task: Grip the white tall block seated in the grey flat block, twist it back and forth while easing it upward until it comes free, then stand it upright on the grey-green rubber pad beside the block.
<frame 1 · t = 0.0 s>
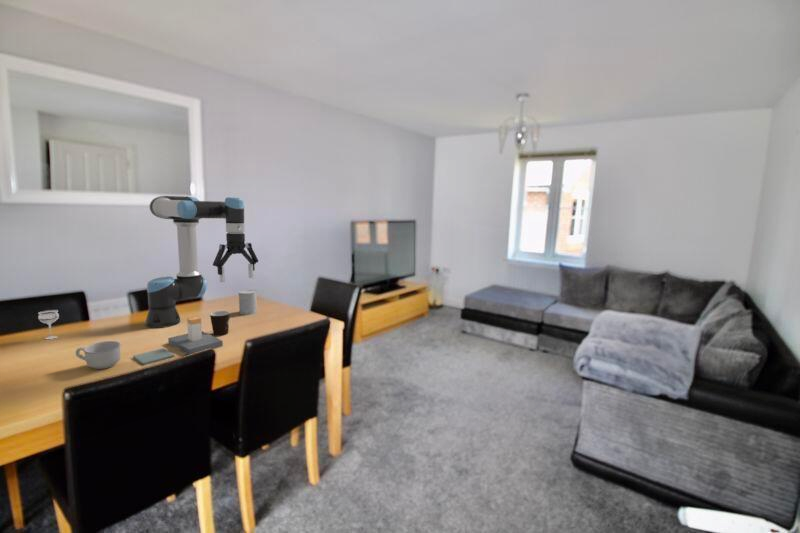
hand: (237, 279, 170), 28 cm above the table, tool pointing down, fingers open, 13 cm apart
grey flat block: (195, 344, 166), on the table
white tall block: (194, 331, 165), in the grey flat block
grey canister: (248, 312, 218), on the table
pad: (154, 357, 152), on the table
coffee mug: (222, 332, 183), on the table
wineglass: (51, 338, 169), on the table
teacup: (100, 366, 142), on the table
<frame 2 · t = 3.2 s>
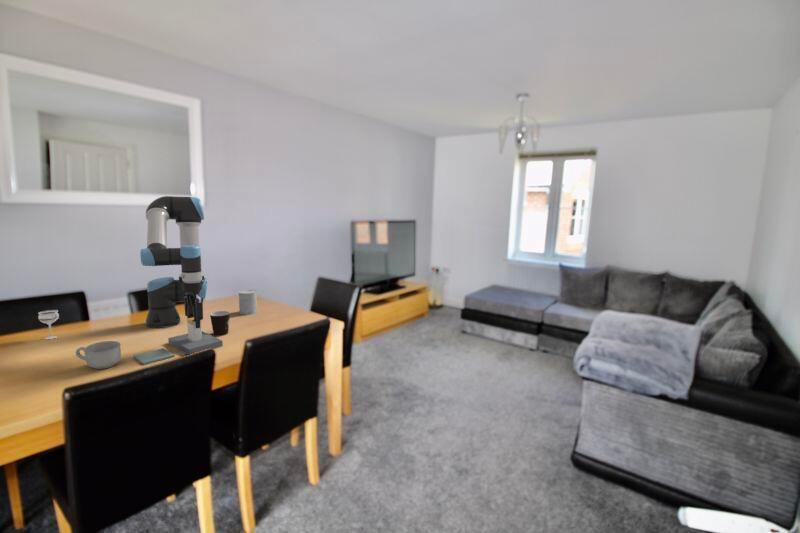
hand: (194, 333, 165), 5 cm above the table, tool pointing down, fingers closed on white tall block, 4 cm apart
white tall block: (194, 331, 165), in the grey flat block, touching gripper
everything else where it was.
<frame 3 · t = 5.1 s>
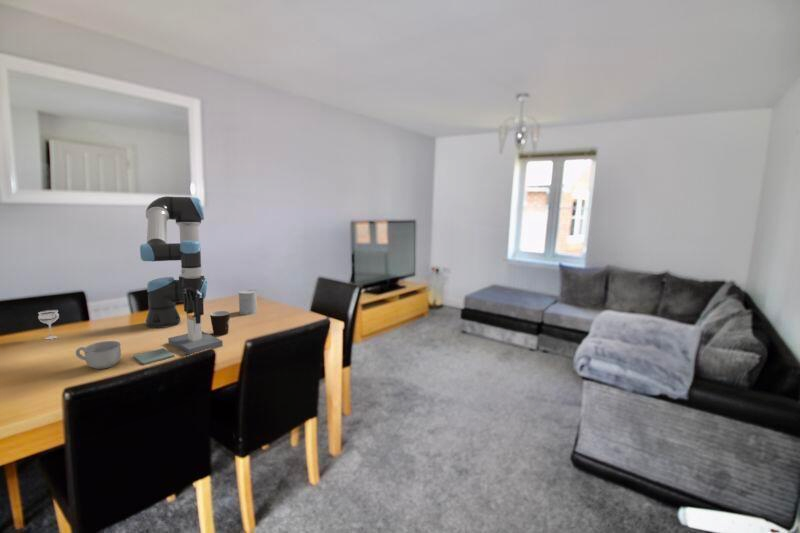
hand: (194, 329, 165), 7 cm above the table, tool pointing down, fingers closed on white tall block, 4 cm apart
white tall block: (194, 327, 165), point 8 cm above the table, touching gripper
everything else where it was.
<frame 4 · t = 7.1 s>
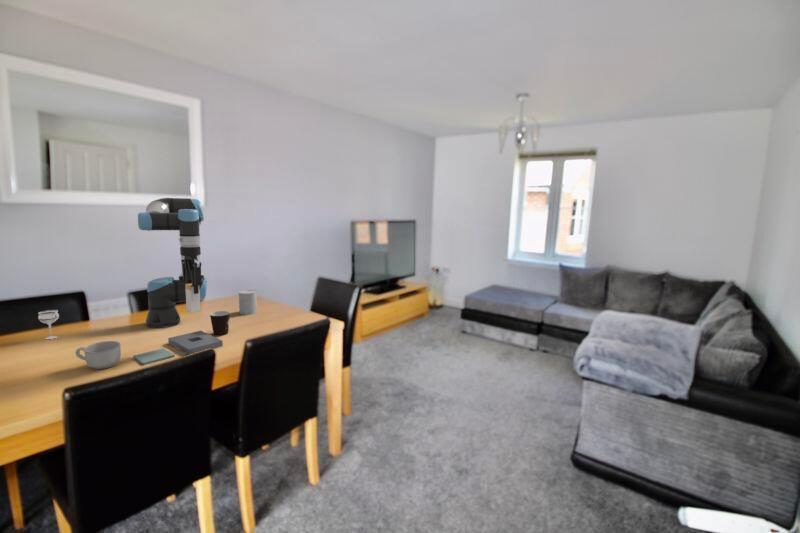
hand: (193, 299, 163), 20 cm above the table, tool pointing down, fingers closed on white tall block, 4 cm apart
white tall block: (192, 297, 163), point 21 cm above the table, touching gripper
everything else where it was.
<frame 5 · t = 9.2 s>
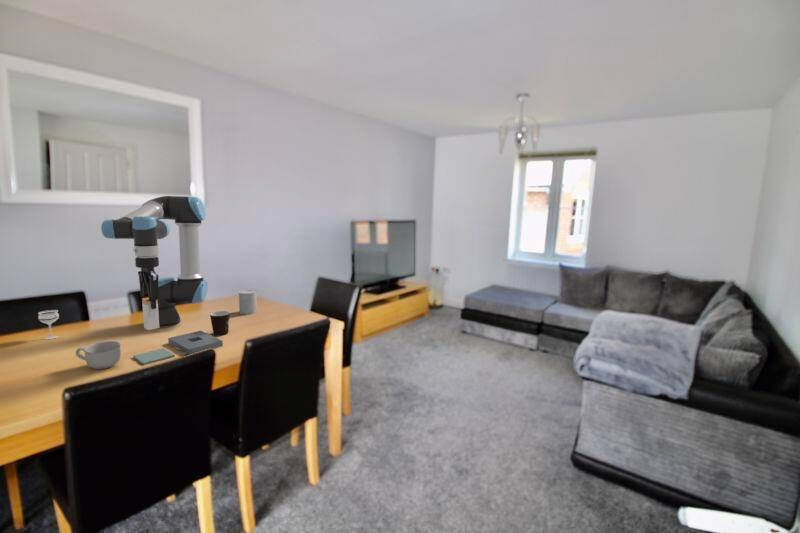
hand: (150, 315, 149), 17 cm above the table, tool pointing down, fingers closed on white tall block, 4 cm apart
white tall block: (150, 313, 149), point 18 cm above the table, touching gripper
everything else where it was.
when the fingers open (7 cm above the table, at t = 11.1 s): white tall block drops 1 cm, resting on pad.
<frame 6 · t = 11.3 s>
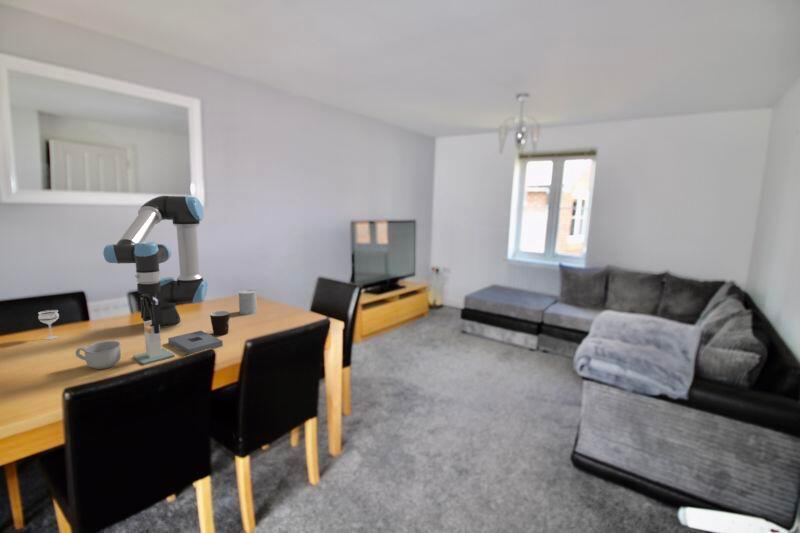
hand: (152, 338, 150), 8 cm above the table, tool pointing down, fingers open, 7 cm apart
white tall block: (152, 340, 150), on the pad, point 7 cm above the table
everything else where it was.
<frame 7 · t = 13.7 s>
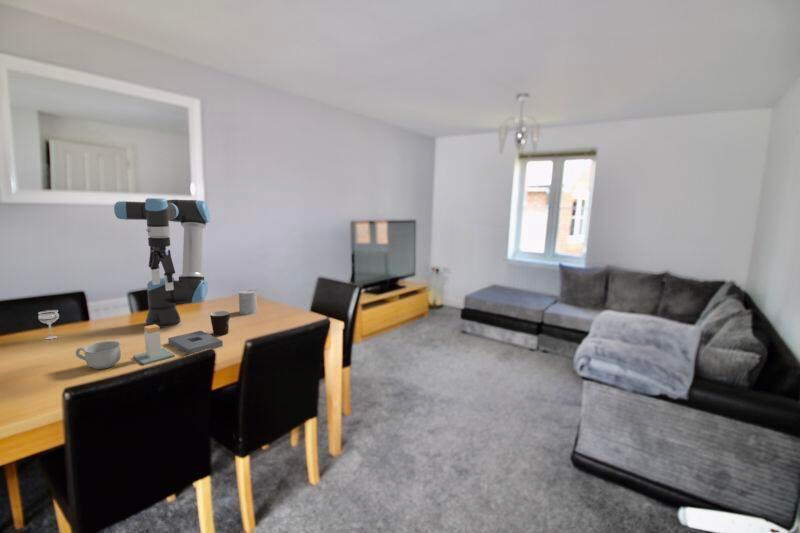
hand: (162, 287, 158), 26 cm above the table, tool pointing down, fingers open, 13 cm apart
nothing on the table moved.
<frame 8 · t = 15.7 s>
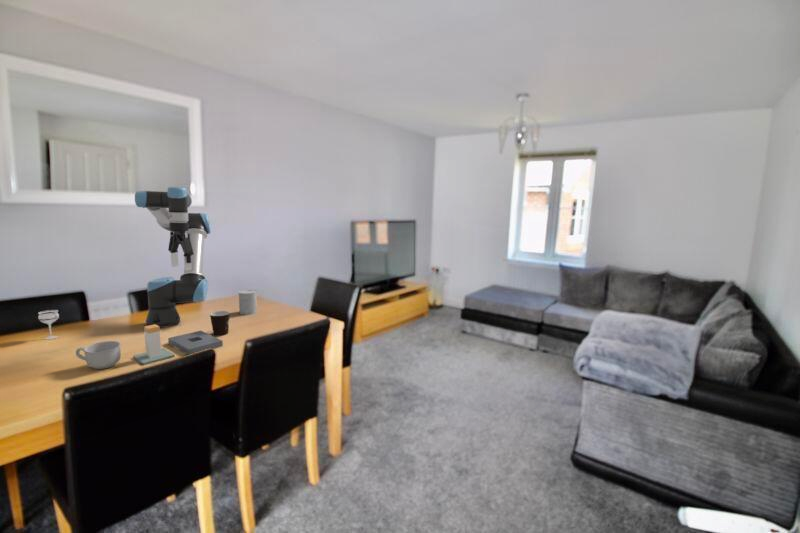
hand: (181, 268, 174), 32 cm above the table, tool pointing down, fingers open, 13 cm apart
nothing on the table moved.
at the end: white tall block inside the target area on the pad (0.1 cm from its centre), point 6.8 cm above the pad's base; white tall block tilted 0°; white tall block touching pad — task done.
